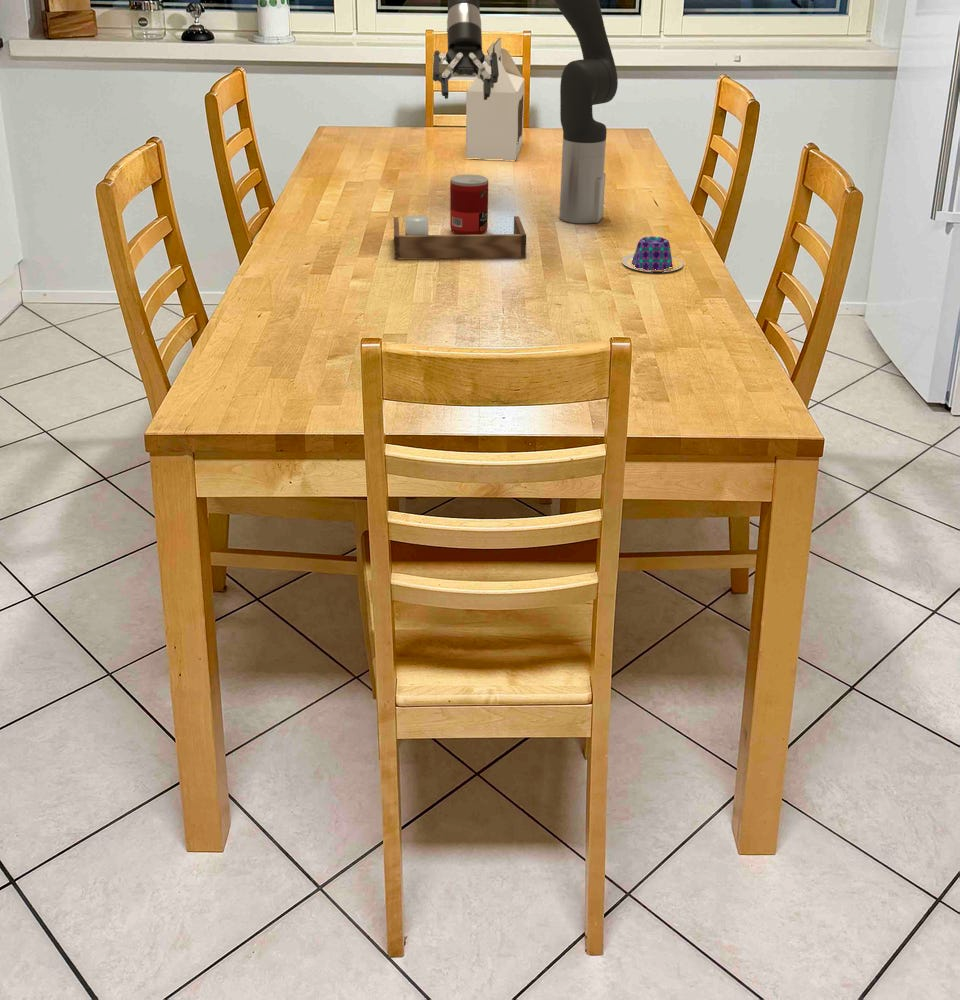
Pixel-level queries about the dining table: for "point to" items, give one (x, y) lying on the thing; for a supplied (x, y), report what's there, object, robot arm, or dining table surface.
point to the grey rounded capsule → (416, 225)
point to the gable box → (496, 111)
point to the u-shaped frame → (461, 244)
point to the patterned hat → (652, 255)
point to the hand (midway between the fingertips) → (466, 97)
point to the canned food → (469, 204)
